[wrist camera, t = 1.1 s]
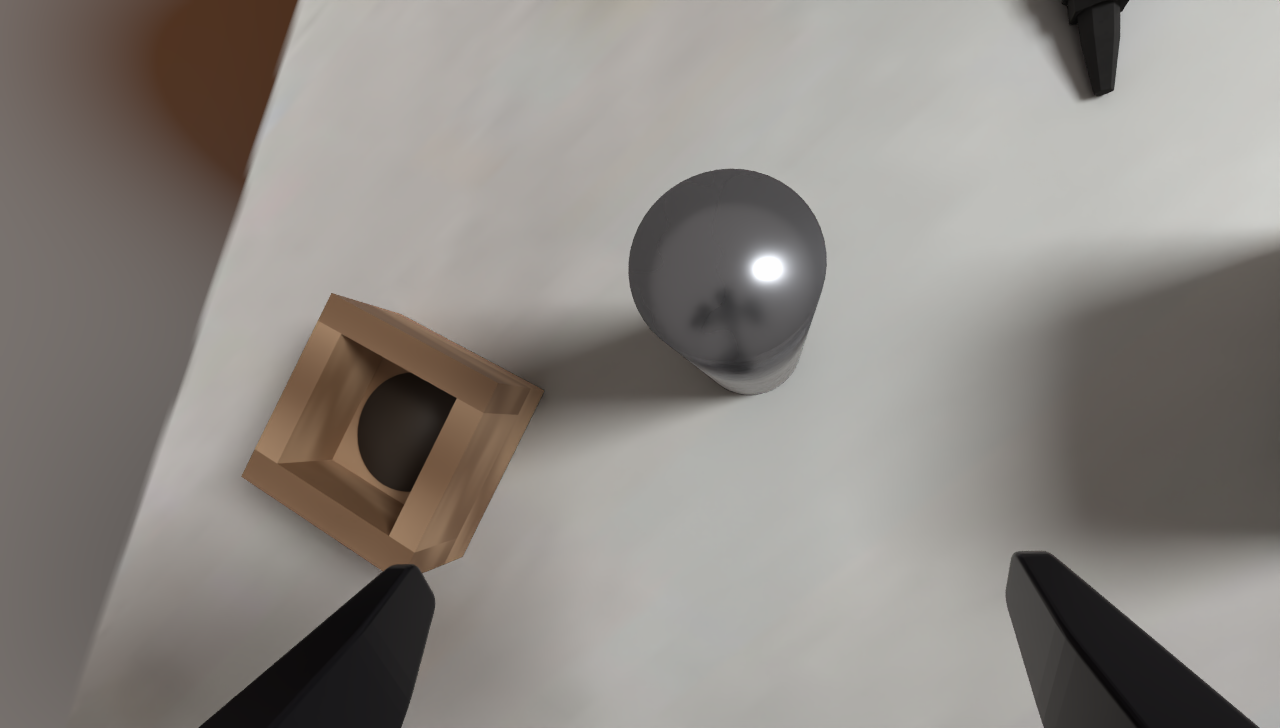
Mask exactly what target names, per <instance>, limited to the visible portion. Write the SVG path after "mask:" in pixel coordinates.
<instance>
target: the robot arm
mask: <svg viewBox="0 0 1280 728" xmlns="http://www.w3.org/2000/svg"><path fill="white" fill-rule="evenodd" d="M1006 603H1007V607H1008V611H1009V614H1010V618H1011V621H1012V624H1013V628H1014V631H1015V634H1016V638H1017V641H1018V645H1019V648H1020V651H1021V655H1022V658H1023V661H1024V665H1025V668H1026V671H1027V675H1028V678H1029V681H1030V685H1031V688H1032V691H1033V695H1034V698H1035V701H1036V705H1037V708H1038V711H1039V714H1040V717H1041V720H1042V724H1043V726H1044V728H1259V727H1258V726H1257V725H1256V724H1254V723H1253V722H1252V721H1251V720H1250V719H1248V718H1247V717H1246V716H1245V715H1244V714H1243V713H1241V712H1240V711H1239V710H1238V709H1237V708H1235V707H1234V706H1233V705H1232V704H1231V703H1229V702H1228V701H1227V700H1226V699H1225V698H1223V697H1222V696H1221V695H1220V694H1219V693H1217V692H1216V691H1215V690H1214V689H1213V688H1211V687H1210V686H1209V685H1208V684H1207V683H1205V682H1204V681H1203V680H1202V679H1201V678H1200V677H1198V676H1197V675H1196V674H1195V673H1194V672H1192V671H1191V670H1190V669H1189V668H1188V667H1186V666H1185V665H1184V664H1183V663H1182V662H1180V661H1179V660H1178V659H1177V658H1176V657H1174V656H1173V655H1172V654H1171V653H1170V652H1168V651H1167V650H1166V649H1165V648H1164V647H1163V646H1161V645H1160V644H1159V643H1158V642H1157V641H1155V640H1154V639H1153V638H1152V637H1151V636H1149V635H1148V634H1147V633H1146V632H1145V631H1143V630H1142V629H1141V628H1140V627H1139V626H1137V625H1136V624H1135V623H1134V622H1133V621H1131V620H1130V619H1129V618H1128V617H1127V616H1126V615H1124V614H1123V613H1122V612H1121V611H1120V610H1118V609H1117V608H1116V607H1115V606H1114V605H1112V604H1111V603H1110V602H1109V601H1108V600H1106V599H1105V598H1104V597H1103V596H1102V595H1100V594H1099V593H1098V592H1097V591H1096V590H1094V589H1093V588H1092V587H1091V586H1090V585H1088V584H1087V583H1086V582H1085V581H1084V580H1083V579H1081V578H1080V577H1079V576H1078V575H1077V574H1075V573H1074V572H1073V571H1072V570H1071V569H1069V568H1068V567H1067V566H1066V565H1065V564H1063V563H1062V562H1061V561H1060V560H1059V559H1057V558H1056V557H1055V556H1054V555H1052V554H1051V553H1048V552H1046V551H1018V552H1015V553H1014V554H1013V555H1012V558H1011V562H1010V568H1009V574H1008V580H1007V585H1006ZM434 609H435V598H434V594H433V592H432V590H431V589H430V587H429V585H428V583H427V581H426V580H425V578H424V576H423V574H422V572H421V571H420V569H419V568H418V567H417V566H416V565H414V564H396V565H392V566H390V567H388V568H387V569H385V570H384V571H383V572H382V573H381V574H379V575H378V576H377V577H376V578H375V579H374V580H372V581H371V582H370V583H369V584H368V585H366V586H365V587H364V588H363V589H362V590H361V591H359V592H358V593H357V594H356V595H355V596H353V597H352V598H351V599H350V600H349V601H348V602H346V603H345V604H344V605H343V606H342V607H340V608H339V609H338V610H337V611H336V612H335V613H333V614H332V615H331V616H330V617H329V618H327V619H326V620H325V621H324V622H323V623H322V624H320V625H319V626H318V627H317V628H316V629H314V630H313V631H312V632H311V633H310V634H309V635H307V636H306V637H305V638H304V639H303V640H302V641H300V642H299V643H298V644H297V645H296V646H294V647H293V648H292V649H291V650H290V651H289V652H287V653H286V654H285V655H284V656H283V657H281V658H280V659H279V660H278V661H277V662H276V663H274V664H273V665H272V666H271V667H270V668H268V669H267V670H266V671H265V672H264V673H263V674H261V675H260V676H259V677H258V678H257V679H255V680H254V681H253V682H252V683H251V684H250V685H248V686H247V687H246V688H245V689H244V690H242V691H241V692H240V693H239V694H238V695H237V696H235V697H234V698H233V699H232V700H231V701H229V702H228V703H227V704H226V705H225V706H224V707H222V708H221V709H220V710H219V711H218V712H216V713H215V714H214V715H213V716H212V717H211V718H209V719H208V720H207V721H206V722H205V723H203V724H202V725H201V726H200V727H199V728H401V726H402V724H403V721H404V718H405V715H406V712H407V709H408V706H409V703H410V700H411V697H412V693H413V690H414V686H415V683H416V679H417V675H418V671H419V667H420V664H421V660H422V656H423V652H424V648H425V644H426V641H427V637H428V633H429V629H430V625H431V621H432V618H433V614H434Z"/></svg>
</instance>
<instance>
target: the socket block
mask: <svg viewBox="0 0 1280 728" xmlns="http://www.w3.org/2000/svg"><path fill="white" fill-rule="evenodd" d="M543 393H544V390H542V389H541V388H539V387H537V386H535V385H533V384H531V383H529V382H527V381H526V380H524V379H522V378H520V377H518V376H516V375H514V374H512V373H511V372H509V371H507V370H505V369H503V368H501V367H499V366H497V365H495V364H494V363H492V362H490V361H488V360H486V359H484V358H482V357H480V356H479V355H477V354H475V353H473V352H471V351H469V350H467V349H465V348H463V347H462V346H460V345H458V344H456V343H454V342H452V341H450V340H448V339H447V338H445V337H443V336H441V335H439V334H437V333H435V332H433V331H431V330H430V329H428V328H426V327H424V326H422V325H420V324H418V323H416V322H415V321H413V320H411V319H409V318H407V317H405V316H403V315H401V314H399V313H395V312H392V311H389V310H385V309H382V308H379V307H376V306H372V305H369V304H366V303H362V302H359V301H356V300H353V299H349V298H346V297H343V296H339V295H336V294H333V293H331V295H330V297H329V300H328V302H327V304H326V306H325V308H324V310H323V312H322V314H321V316H320V318H319V320H318V322H317V324H316V326H315V328H314V330H313V332H312V334H311V336H310V338H309V340H308V342H307V344H306V346H305V348H304V350H303V352H302V354H301V356H300V358H299V360H298V363H297V365H296V367H295V369H294V371H293V373H292V375H291V377H290V379H289V381H288V383H287V385H286V387H285V389H284V391H283V393H282V395H281V397H280V399H279V401H278V403H277V405H276V407H275V409H274V411H273V413H272V415H271V417H270V419H269V421H268V423H267V425H266V428H265V430H264V432H263V434H262V436H261V438H260V440H259V442H258V444H257V446H256V448H255V450H254V452H253V454H252V456H251V458H250V460H249V462H248V464H247V466H246V468H245V470H244V472H243V474H242V476H241V477H243V478H244V479H246V480H247V481H249V482H250V483H252V484H253V485H255V486H256V487H258V488H259V489H261V490H262V491H264V492H265V493H267V494H268V495H270V496H271V497H273V498H274V499H276V500H277V501H279V502H280V503H282V504H283V505H285V506H286V507H288V508H289V509H291V510H292V511H294V512H295V513H297V514H298V515H300V516H301V517H303V518H304V519H306V520H307V521H309V522H310V523H312V524H313V525H315V526H316V527H318V528H319V529H321V530H322V531H324V532H325V533H326V534H328V535H329V536H331V537H332V538H334V539H335V540H337V541H338V542H340V543H341V544H343V545H344V546H346V547H347V548H349V549H350V550H352V551H353V552H355V553H356V554H358V555H359V556H361V557H362V558H364V559H365V560H367V561H368V562H370V563H371V564H373V565H374V566H376V567H377V568H379V569H380V570H382V571H384V570H385V569H387V568H388V567H390V566H392V565H396V564H414V565H416V566H417V567H418V568H419V569H420V571H421V572H422V573H424V572H427V571H429V570H432V569H434V568H436V567H439V566H441V565H444V564H446V563H449V562H451V561H453V560H456V559H458V558H461V557H463V555H464V553H465V551H466V549H467V547H468V545H469V543H470V541H471V539H472V537H473V535H474V533H475V531H476V528H477V526H478V524H479V522H480V520H481V518H482V516H483V514H484V512H485V510H486V508H487V506H488V504H489V502H490V500H491V498H492V496H493V494H494V492H495V490H496V488H497V486H498V484H499V482H500V480H501V478H502V476H503V474H504V472H505V470H506V468H507V466H508V464H509V462H510V460H511V458H512V456H513V454H514V452H515V450H516V448H517V446H518V444H519V442H520V439H521V437H522V435H523V433H524V431H525V429H526V427H527V425H528V423H529V421H530V419H531V417H532V415H533V413H534V411H535V409H536V407H537V405H538V403H539V401H540V399H541V397H542V395H543Z"/></svg>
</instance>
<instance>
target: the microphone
mask: <svg viewBox="0 0 1280 728" xmlns="http://www.w3.org/2000/svg"><path fill="white" fill-rule="evenodd" d="M1128 1H1129V0H1062V4H1064V5H1068V17H1069V24H1077V23H1078V25H1079V33H1080V40H1081V46H1082V50H1083V54H1084V57H1085V61H1086V65H1087V69H1088V73H1089V77H1090V80H1091V84H1092V88H1093V92H1094V94H1095V95H1097V96H1098V95H1103V94H1107V93H1109V92H1111V91H1113V90H1114V85H1115V76H1116V68H1117V59H1118V50H1119V41H1120V12H1122V11H1123V9H1124V7H1125V6H1126V4H1127V3H1128Z"/></svg>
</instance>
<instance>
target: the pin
mask: <svg viewBox="0 0 1280 728" xmlns="http://www.w3.org/2000/svg"><path fill="white" fill-rule="evenodd" d="M826 266H827V263H826V248H825V241H824V237H823V234H822V231H821V228H820V226H819V223H818V221H817V219H816V217H815V215H814V214H813V212H812V211H811V209H810V208H809V206H808V205H807V204H806V203H805V201H804V200H803V199H802V198H801V197H800V196H799V195H798V194H797V193H796V192H794V191H793V190H792V189H791V188H790V187H788V186H787V185H785V184H783V183H782V182H780V181H779V180H776V179H774V178H772V177H770V176H768V175H765V174H762V173H758V172H755V171H749V170H744V169H722V170H714V171H709V172H705V173H702V174H699V175H696V176H693V177H691V178H689V179H687V180H685V181H682V182H681V183H679V184H677V185H676V186H674V187H673V188H671V189H670V190H669V191H667V192H666V193H665V194H664V195H663V196H661V197H660V198H659V199H658V200H657V201H656V203H655V204H654V205H653V206H652V207H651V208H650V210H649V211H648V212H647V214H646V215H645V216H644V218H643V220H642V222H641V223H640V225H639V227H638V229H637V232H636V234H635V236H634V239H633V243H632V246H631V250H630V257H629V282H630V288H631V292H632V296H633V299H634V302H635V304H636V307H637V309H638V311H639V313H640V314H641V316H642V318H643V320H644V321H645V322H646V324H647V325H648V326H649V328H650V329H651V330H652V331H653V332H654V333H655V334H656V335H657V336H658V337H659V338H660V339H661V340H663V341H664V342H665V343H667V344H668V345H669V346H670V347H672V348H673V349H674V350H676V351H677V352H678V353H679V354H681V355H682V356H683V357H685V358H686V359H687V360H688V361H690V362H691V363H692V364H694V365H695V366H696V367H698V368H699V369H700V370H701V371H703V372H704V373H705V374H707V375H708V376H709V377H710V378H712V379H713V380H714V381H716V382H717V383H718V384H720V385H721V386H722V387H724V388H726V389H727V390H730V391H732V392H735V393H739V394H745V395H755V394H761V393H765V392H768V391H771V390H773V389H775V388H776V387H778V386H780V385H781V384H782V383H784V382H785V381H786V380H787V379H788V378H789V376H790V375H791V374H792V373H793V371H794V369H795V367H796V365H797V363H798V361H799V358H800V355H801V352H802V349H803V346H804V343H805V340H806V337H807V334H808V331H809V328H810V325H811V322H812V319H813V316H814V313H815V310H816V307H817V304H818V301H819V298H820V295H821V292H822V288H823V284H824V280H825V274H826Z"/></svg>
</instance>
